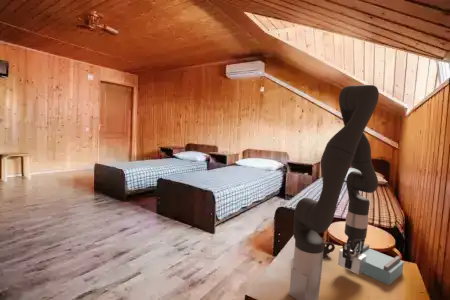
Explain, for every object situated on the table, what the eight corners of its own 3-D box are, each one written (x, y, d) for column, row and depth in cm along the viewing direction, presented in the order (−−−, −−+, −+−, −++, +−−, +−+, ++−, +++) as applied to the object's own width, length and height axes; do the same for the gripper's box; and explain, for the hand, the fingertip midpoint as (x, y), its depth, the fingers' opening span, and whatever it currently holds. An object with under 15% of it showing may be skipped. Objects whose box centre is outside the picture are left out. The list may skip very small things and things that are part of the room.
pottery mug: (308, 257, 116) (305, 238, 120) (310, 257, 124) (307, 239, 128) (336, 256, 112) (333, 236, 116) (337, 257, 120) (333, 238, 124)
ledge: (389, 285, 97) (391, 268, 97) (347, 265, 110) (348, 251, 109) (402, 273, 106) (404, 258, 106) (362, 256, 119) (363, 242, 118)
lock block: (358, 274, 96) (360, 259, 96) (337, 264, 103) (339, 250, 102) (364, 270, 100) (366, 255, 99) (344, 261, 106) (345, 247, 105)
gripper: (358, 231, 92) (352, 276, 94) (374, 223, 101) (369, 265, 103) (337, 224, 98) (332, 266, 99) (355, 217, 107) (350, 257, 108)
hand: (351, 265), depth 101 cm, fingers closed on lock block, 5 cm apart
